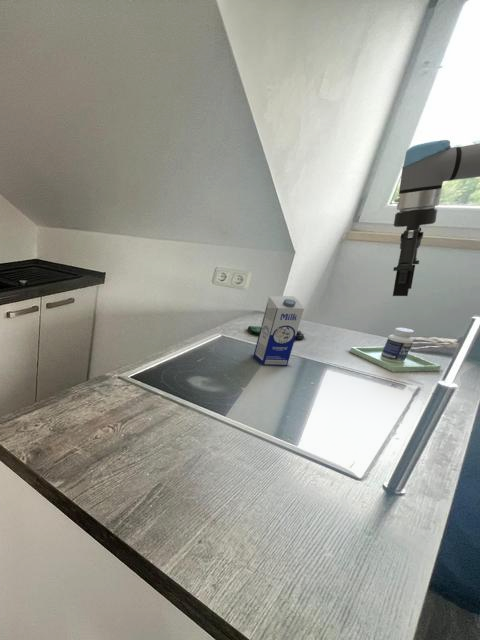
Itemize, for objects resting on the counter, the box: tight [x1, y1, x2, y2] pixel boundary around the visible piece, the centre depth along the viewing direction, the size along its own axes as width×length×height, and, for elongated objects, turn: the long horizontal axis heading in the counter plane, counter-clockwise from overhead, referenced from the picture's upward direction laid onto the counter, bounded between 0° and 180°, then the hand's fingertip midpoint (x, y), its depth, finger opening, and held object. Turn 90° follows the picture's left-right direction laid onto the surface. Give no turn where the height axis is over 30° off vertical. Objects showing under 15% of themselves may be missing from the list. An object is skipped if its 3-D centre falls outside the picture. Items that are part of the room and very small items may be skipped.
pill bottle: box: [381, 327, 415, 363], centre depth 117 cm, size 5×5×10 cm
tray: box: [349, 346, 442, 373], centre depth 119 cm, size 15×13×2 cm
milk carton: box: [253, 295, 305, 366], centre depth 117 cm, size 7×7×20 cm
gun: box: [247, 325, 305, 341], centre depth 141 cm, size 16×1×10 cm
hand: (402, 292), depth 105 cm, fingers open, 13 cm apart
